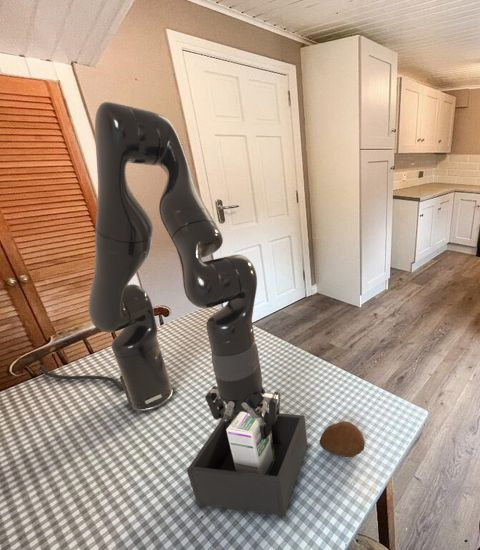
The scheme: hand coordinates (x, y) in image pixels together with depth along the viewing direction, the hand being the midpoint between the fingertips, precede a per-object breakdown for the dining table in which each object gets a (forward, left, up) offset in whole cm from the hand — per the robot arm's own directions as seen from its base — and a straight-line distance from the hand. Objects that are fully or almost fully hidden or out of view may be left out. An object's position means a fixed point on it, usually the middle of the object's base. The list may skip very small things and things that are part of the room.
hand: (250, 433), depth 60 cm
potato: (+17, +8, -12) cm, 22 cm away
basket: (0, 0, -11) cm, 11 cm away
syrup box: (0, 0, -11) cm, 11 cm away
